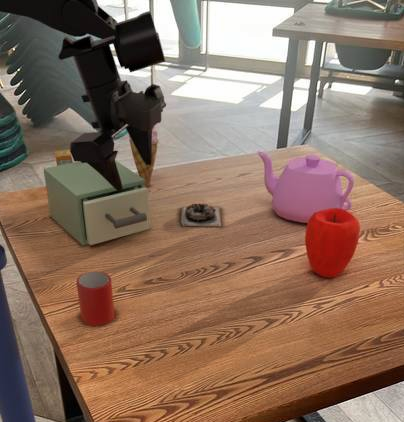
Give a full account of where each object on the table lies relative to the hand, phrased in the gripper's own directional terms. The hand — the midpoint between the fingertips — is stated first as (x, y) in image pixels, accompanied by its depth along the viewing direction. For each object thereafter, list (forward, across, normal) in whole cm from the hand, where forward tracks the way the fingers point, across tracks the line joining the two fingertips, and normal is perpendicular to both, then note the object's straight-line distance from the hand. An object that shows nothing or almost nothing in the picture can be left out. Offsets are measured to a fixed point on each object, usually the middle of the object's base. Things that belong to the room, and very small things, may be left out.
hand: (134, 177), depth 97 cm
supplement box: (+9, +7, +25) cm, 28 cm away
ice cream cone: (+13, +21, +16) cm, 30 cm away
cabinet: (+10, +2, +15) cm, 18 cm away
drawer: (+10, 0, +10) cm, 14 cm away
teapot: (+21, +26, -17) cm, 37 cm away
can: (+11, -24, -5) cm, 27 cm away
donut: (+16, +14, -1) cm, 21 cm away
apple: (+21, +6, -29) cm, 36 cm away
